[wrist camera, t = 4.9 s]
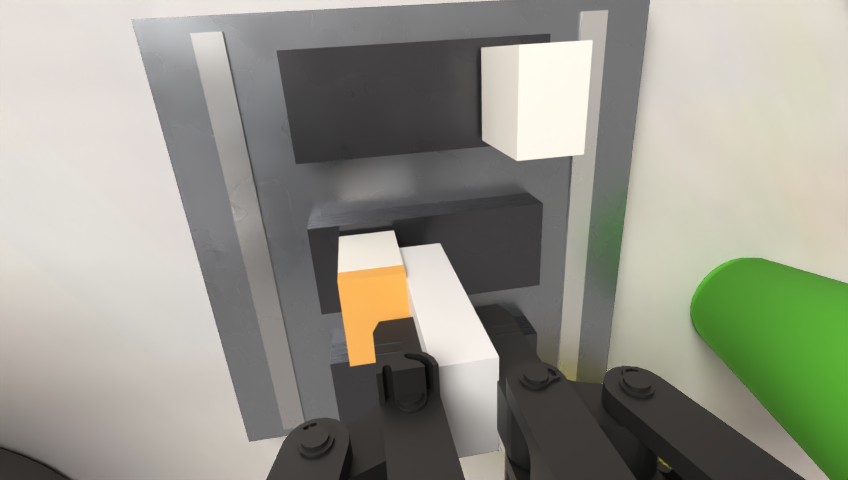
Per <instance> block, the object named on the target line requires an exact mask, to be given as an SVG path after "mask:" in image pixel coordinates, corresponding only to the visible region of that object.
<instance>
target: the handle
mask: <svg viewBox="0 0 848 480" xmlns="http://www.w3.org/2000/svg"><path fill="white" fill-rule="evenodd" d="M592 44H593V40H584V41H568V42H553V43H537V44H522V45H509V46H496V47H483V48H481V74H482V140H483V141H484V142H486V143H488V144H489V145H491V146H493V147H494V148H496V149H498V150H499V151H501V152H503V153H504V154H506V155H508V156H509V157H511V158H513V159H514V160H516V161H523V160H533V159H543V158H553V157H563V156H573V155H584V148H585V135H586V122H587V109H588V96H589V83H590V70H591V57H592Z"/></svg>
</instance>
